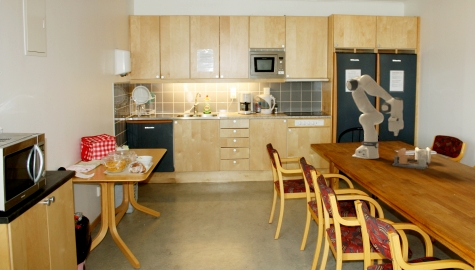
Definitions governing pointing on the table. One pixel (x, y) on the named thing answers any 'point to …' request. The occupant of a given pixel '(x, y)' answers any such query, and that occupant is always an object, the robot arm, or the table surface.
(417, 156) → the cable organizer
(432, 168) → the table surface
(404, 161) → the orange piece
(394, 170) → the table surface
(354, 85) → the robot arm
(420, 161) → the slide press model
